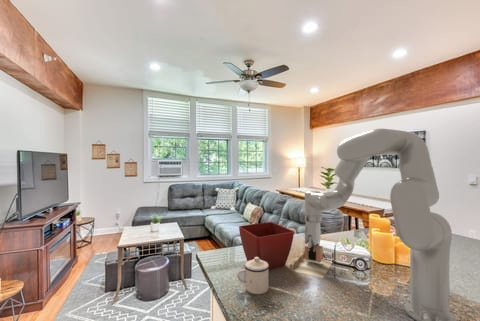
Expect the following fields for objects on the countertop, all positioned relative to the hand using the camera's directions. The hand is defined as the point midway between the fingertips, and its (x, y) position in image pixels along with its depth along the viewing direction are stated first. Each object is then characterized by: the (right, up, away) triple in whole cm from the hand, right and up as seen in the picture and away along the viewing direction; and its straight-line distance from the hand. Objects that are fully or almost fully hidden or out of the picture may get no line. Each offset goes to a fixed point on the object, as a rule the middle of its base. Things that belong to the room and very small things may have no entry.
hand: (313, 257), depth 111 cm
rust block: (0, -1, 0) cm, 1 cm away
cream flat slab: (-1, -3, -1) cm, 4 cm away
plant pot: (-22, -4, +1) cm, 22 cm away
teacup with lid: (-29, -4, -20) cm, 35 cm away
